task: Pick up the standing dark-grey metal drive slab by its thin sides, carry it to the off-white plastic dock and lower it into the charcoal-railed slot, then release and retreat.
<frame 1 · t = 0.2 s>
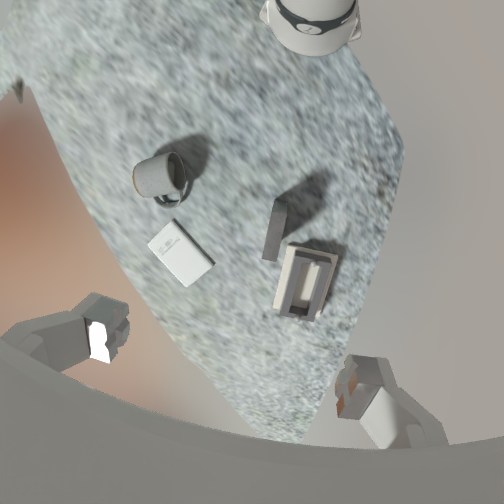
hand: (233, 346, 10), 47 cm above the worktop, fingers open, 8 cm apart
external hard drive: (181, 252, 63), on the worktop
ceramic mug: (169, 179, 57), on the worktop
dock: (304, 281, 61), on the worktop
drive: (276, 220, 57), on the worktop
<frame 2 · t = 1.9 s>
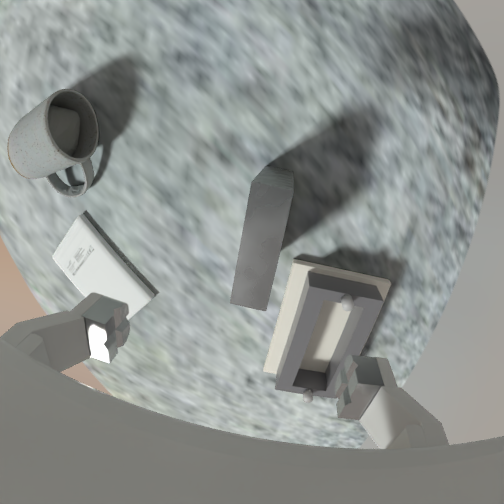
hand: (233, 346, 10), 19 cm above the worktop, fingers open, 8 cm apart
external hard drive: (103, 271, 33), on the worktop
ceramic mug: (77, 145, 27), on the worktop
dock: (322, 327, 31), on the worktop
drive: (270, 211, 27), on the worktop
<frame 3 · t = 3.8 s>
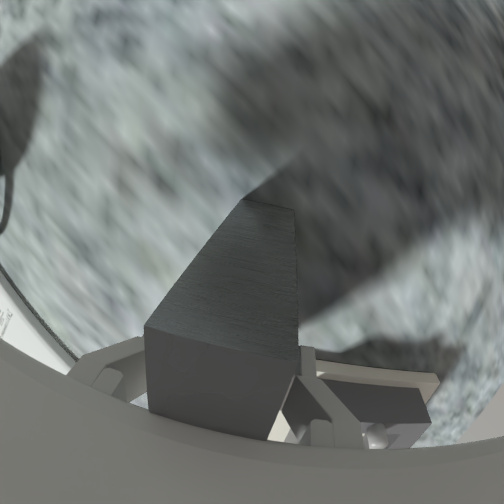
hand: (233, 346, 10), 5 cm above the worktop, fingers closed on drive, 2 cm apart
external hard drive: (33, 337, 21), on the worktop
dock: (331, 433, 19), on the worktop
drive: (251, 282, 15), on the worktop, touching gripper
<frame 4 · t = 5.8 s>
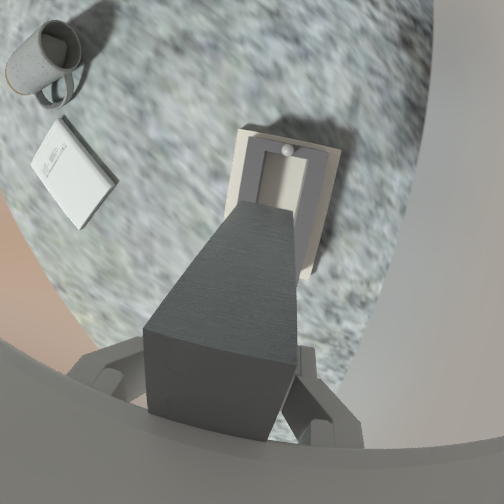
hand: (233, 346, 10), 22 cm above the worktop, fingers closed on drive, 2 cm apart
external hard drive: (73, 172, 33), on the worktop
ceramic mug: (63, 70, 27), on the worktop
dock: (276, 205, 31), on the worktop
drive: (251, 283, 15), point 17 cm above the worktop, touching gripper
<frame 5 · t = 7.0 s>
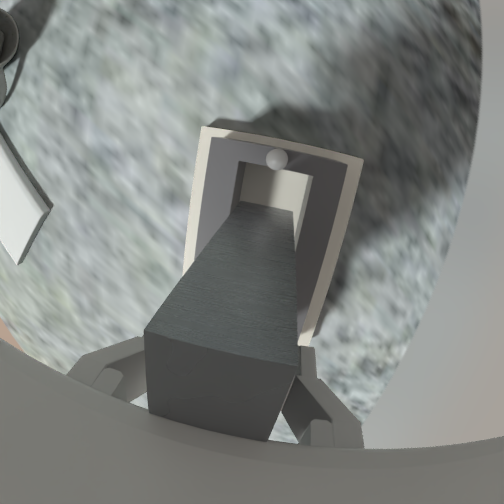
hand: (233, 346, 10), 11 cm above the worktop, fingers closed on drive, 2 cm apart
external hard drive: (9, 191, 23), on the worktop
ceramic mug: (0, 66, 17), on the worktop
dock: (262, 243, 21), on the worktop
drive: (251, 284, 15), point 6 cm above the worktop, touching gripper
when the fingers open (8 cm above the worktop, at t = 7.9 s): drive drops 1 cm, resting on dock.
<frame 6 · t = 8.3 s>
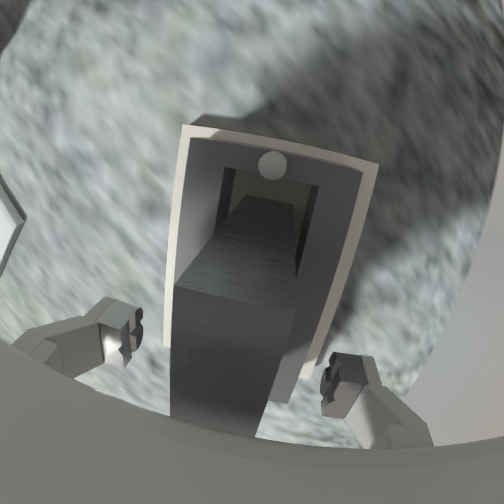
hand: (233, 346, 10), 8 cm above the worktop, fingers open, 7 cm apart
dock: (256, 263, 17), on the worktop
drive: (255, 271, 16), point 1 cm above the worktop, touching dock
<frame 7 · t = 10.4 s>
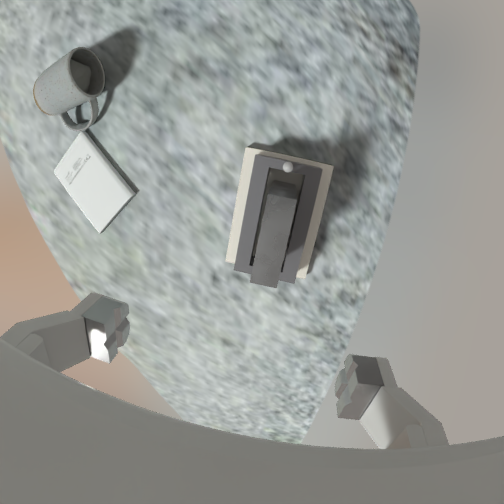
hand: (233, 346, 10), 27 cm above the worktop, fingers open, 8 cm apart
external hard drive: (95, 180, 38), on the worktop
ceramic mug: (86, 93, 33), on the worktop
dock: (277, 213, 36), on the worktop
drive: (277, 215, 35), point 1 cm above the worktop, touching dock
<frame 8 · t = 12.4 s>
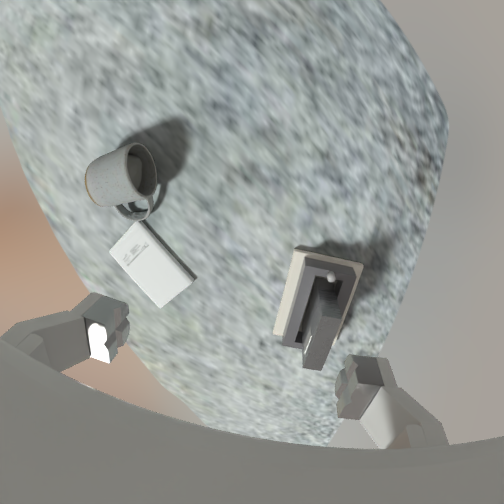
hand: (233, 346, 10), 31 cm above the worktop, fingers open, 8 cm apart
external hard drive: (152, 262, 46), on the worktop
ceramic mug: (137, 181, 41), on the worktop
dock: (316, 299, 44), on the worktop
drive: (316, 302, 43), point 1 cm above the worktop, touching dock
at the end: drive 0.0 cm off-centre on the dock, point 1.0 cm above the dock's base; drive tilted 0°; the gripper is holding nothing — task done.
